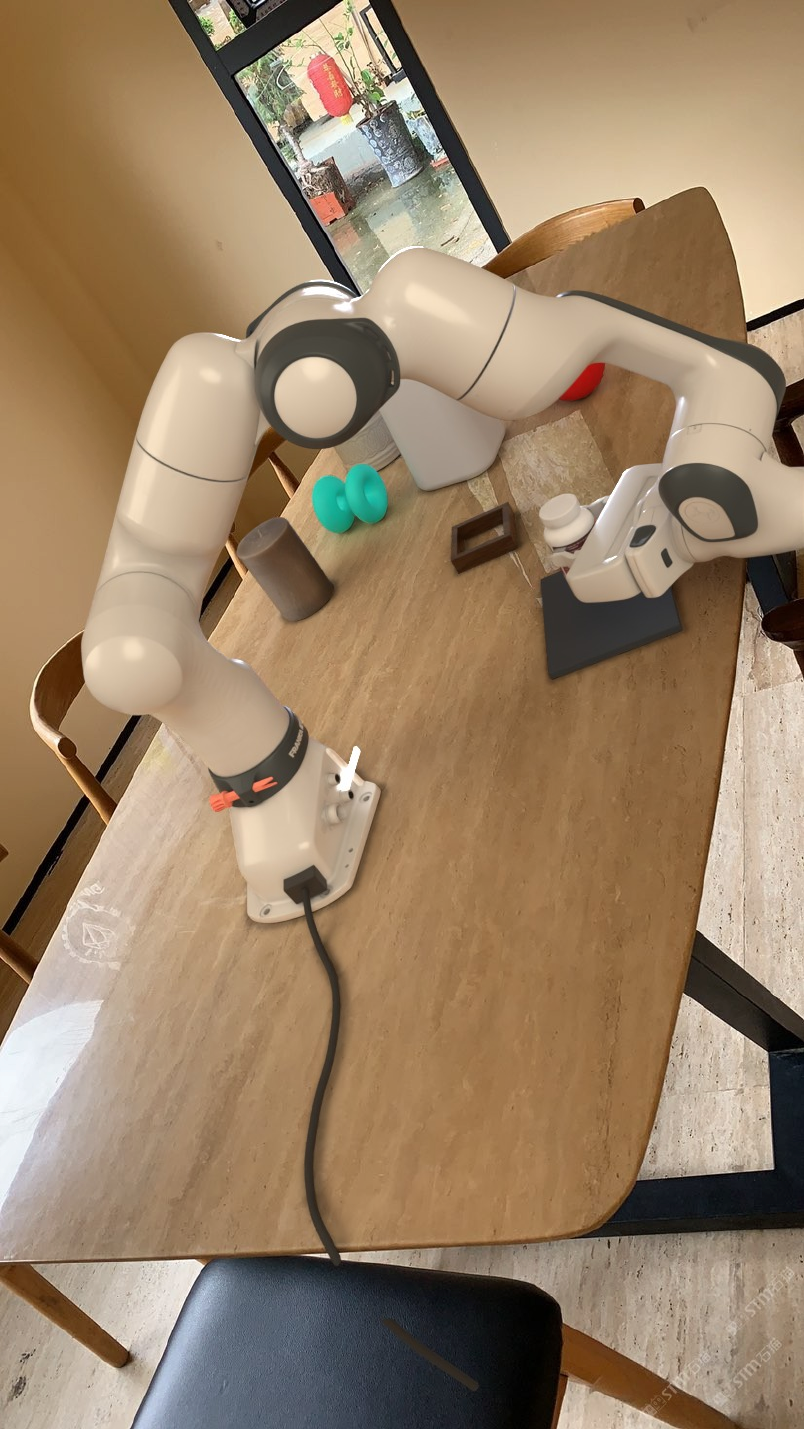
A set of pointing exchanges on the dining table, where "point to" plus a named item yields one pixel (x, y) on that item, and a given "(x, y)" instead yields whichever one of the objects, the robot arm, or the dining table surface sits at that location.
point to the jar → (369, 446)
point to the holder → (488, 549)
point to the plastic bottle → (440, 435)
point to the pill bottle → (566, 524)
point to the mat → (600, 625)
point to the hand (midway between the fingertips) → (566, 536)
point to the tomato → (585, 382)
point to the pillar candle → (285, 569)
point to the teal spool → (350, 498)
